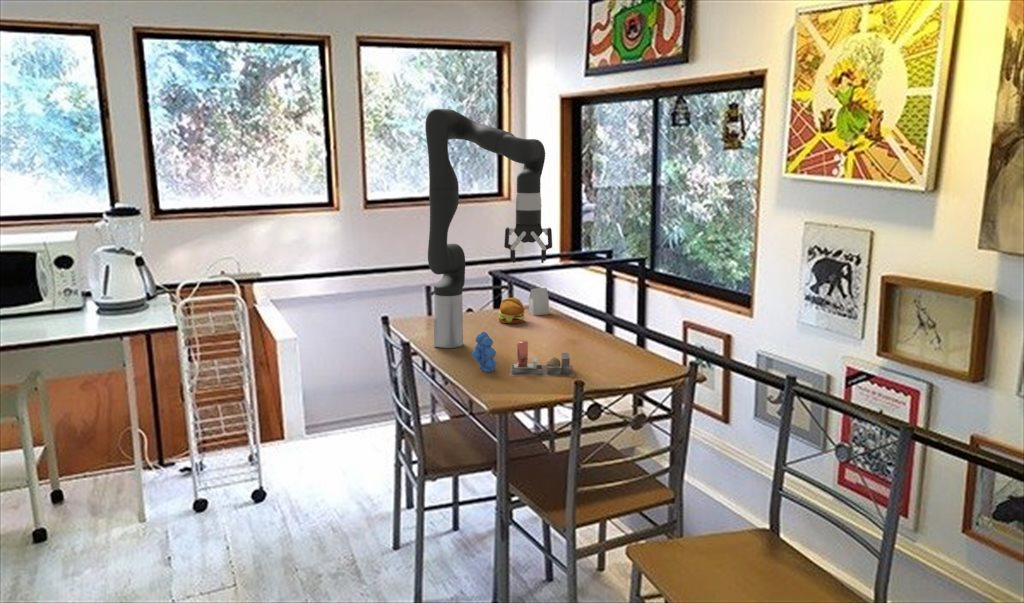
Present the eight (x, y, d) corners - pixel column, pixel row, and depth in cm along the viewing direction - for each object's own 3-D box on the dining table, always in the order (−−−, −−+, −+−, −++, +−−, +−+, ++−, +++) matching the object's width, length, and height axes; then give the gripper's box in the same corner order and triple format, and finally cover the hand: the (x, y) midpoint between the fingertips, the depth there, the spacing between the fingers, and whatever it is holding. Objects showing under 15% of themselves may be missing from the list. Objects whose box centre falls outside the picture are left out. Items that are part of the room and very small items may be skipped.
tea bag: (548, 313, 295) (548, 288, 293) (533, 315, 292) (533, 290, 290) (544, 312, 298) (544, 287, 296) (528, 313, 296) (528, 288, 294)
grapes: (464, 369, 223) (464, 329, 221) (486, 366, 226) (485, 327, 223) (479, 380, 213) (478, 339, 210) (501, 377, 215) (501, 336, 213)
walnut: (546, 372, 215) (546, 359, 214) (546, 368, 219) (546, 355, 218) (560, 372, 215) (560, 359, 214) (560, 368, 219) (560, 355, 218)
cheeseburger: (522, 317, 289) (524, 293, 285) (526, 330, 280) (528, 305, 275) (496, 317, 288) (497, 293, 284) (499, 330, 278) (500, 306, 274)
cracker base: (509, 381, 212) (509, 360, 211) (510, 369, 223) (510, 350, 221) (574, 381, 212) (574, 361, 210) (572, 370, 222) (572, 350, 221)
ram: (513, 371, 215) (513, 343, 213) (513, 367, 219) (513, 339, 217) (536, 371, 215) (536, 343, 213) (536, 367, 219) (536, 340, 217)
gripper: (503, 209, 221) (504, 264, 224) (553, 209, 220) (552, 264, 224) (504, 207, 228) (504, 260, 231) (552, 207, 228) (551, 260, 231)
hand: (528, 262), depth 228 cm, fingers open, 8 cm apart
